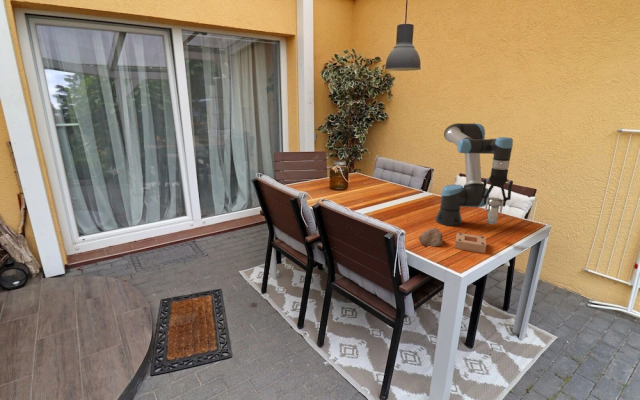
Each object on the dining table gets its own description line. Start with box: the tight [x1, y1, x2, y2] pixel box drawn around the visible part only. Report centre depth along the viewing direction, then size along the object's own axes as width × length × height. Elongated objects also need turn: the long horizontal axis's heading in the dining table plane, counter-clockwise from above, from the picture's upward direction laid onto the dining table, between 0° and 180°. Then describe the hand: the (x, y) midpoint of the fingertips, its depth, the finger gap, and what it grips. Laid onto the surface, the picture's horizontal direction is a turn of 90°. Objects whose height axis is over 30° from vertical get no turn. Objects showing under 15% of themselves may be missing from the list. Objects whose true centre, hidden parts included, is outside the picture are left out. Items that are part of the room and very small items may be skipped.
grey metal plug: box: [486, 197, 503, 225], centre depth 175 cm, size 6×6×13 cm
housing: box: [454, 232, 487, 254], centre depth 170 cm, size 14×12×6 cm
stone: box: [418, 227, 444, 247], centre depth 175 cm, size 12×9×10 cm
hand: (493, 211), depth 175 cm, fingers closed on grey metal plug, 6 cm apart
